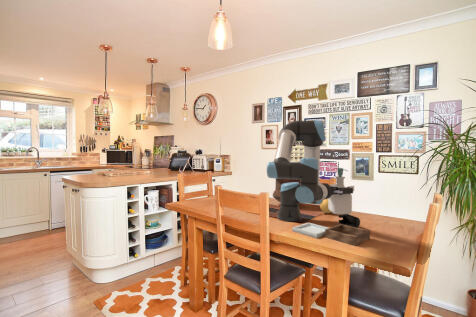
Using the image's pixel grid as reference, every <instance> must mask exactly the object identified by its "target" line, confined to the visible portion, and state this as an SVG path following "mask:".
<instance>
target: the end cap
mask: <svg viewBox="0 0 476 317" xmlns="http://www.w3.org/2000/svg"><path fill="white" fill-rule="evenodd" d="M338 218H339V219H338V224H343V225H347V226H351V227H356V228H360V225H361V219H360V218H359V217H357V216H355V215H351V214H338Z"/></svg>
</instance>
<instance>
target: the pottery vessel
mask: <svg viewBox="0 0 476 317" xmlns="http://www.w3.org/2000/svg"><path fill="white" fill-rule="evenodd" d="M291 182H299V185H300V179H275V190H274V191H273V192H272V198H274V200H276V201H277V202H279V203H280V204H281V192H280V191H281V185H282V184H284V183H291Z"/></svg>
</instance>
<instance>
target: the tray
mask: <svg viewBox="0 0 476 317" xmlns="http://www.w3.org/2000/svg"><path fill="white" fill-rule="evenodd" d="M328 228H329V227H328V226H324V225H320V224H316V223H313V222H312V223H311V222H306V223H303V224H299V225H295V226H293V227H291V229H292V232H295V233H298V234H302V235H304V236H307V235H308V236H307V237H310V238H315V239H319V238H320V237H325V229H328Z"/></svg>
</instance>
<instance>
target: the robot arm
mask: <svg viewBox="0 0 476 317" xmlns="http://www.w3.org/2000/svg"><path fill="white" fill-rule="evenodd" d="M326 138H327V137H326V130H325V123H324V121H323V120H319V119H317V120H316V119H313V120H312V119H311V120H294V121H291V122H288V123H287V124H286V125H284V126H283V127H282V128H281V129H280V131H279V134H278V144H277V148H276V151H275V155H274V159H273V161H269V162H268V163H267V164H266V175H267V177H268V178H269V179H275V180H276V179H300V185H299V182H291V183H284V184H282V185H281V191H280V192H281V203H280V207H279V208H278V209H279V210H278V213H277V219H278V220H280V221H282V222H299V221H301V220H302V213H301V211H300V210H301V209H300V204H303V205H304V204H310V205H320V204H321V203H322V201H323V200H325V199H328V198H330V197H331V196H332V195H334V194H338V193H339V195H343V194H350V193H351V194H354V192H355V185H349V186H345V187H344V188H338V187H335V186H336V184H337V183H332V184H329V183H326V182H321V181H320V165H321V163H320V162H321V158H320V157H321V156H320V155H321V147H322V146H323V144H324V143H325V142H326ZM295 142H301V146H303V148H304V157H302V158H300V160H299V161H291V159H292V154H293V147H294V143H295Z"/></svg>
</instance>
